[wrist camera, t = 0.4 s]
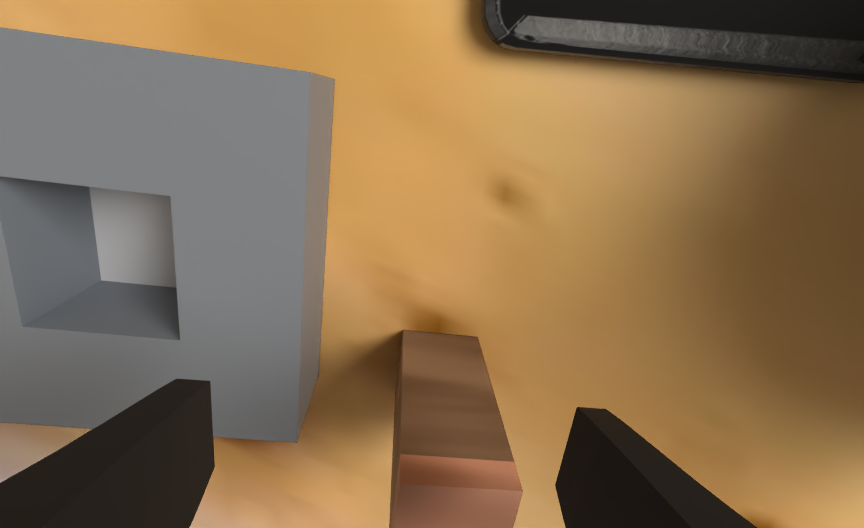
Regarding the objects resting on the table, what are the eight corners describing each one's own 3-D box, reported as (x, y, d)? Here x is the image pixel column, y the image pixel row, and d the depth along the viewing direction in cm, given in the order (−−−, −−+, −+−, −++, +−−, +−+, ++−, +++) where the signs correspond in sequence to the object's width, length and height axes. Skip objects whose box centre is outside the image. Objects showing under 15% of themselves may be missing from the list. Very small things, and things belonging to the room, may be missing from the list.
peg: (465, 398, 20) (499, 576, 13) (395, 393, 20) (387, 571, 12) (477, 337, 19) (522, 491, 12) (403, 329, 19) (399, 483, 11)
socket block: (318, 376, 19) (296, 442, 15) (20, 351, 18) (-81, 417, 14) (334, 79, 15) (310, 72, 11) (-48, 24, 14) (-214, -4, 10)
